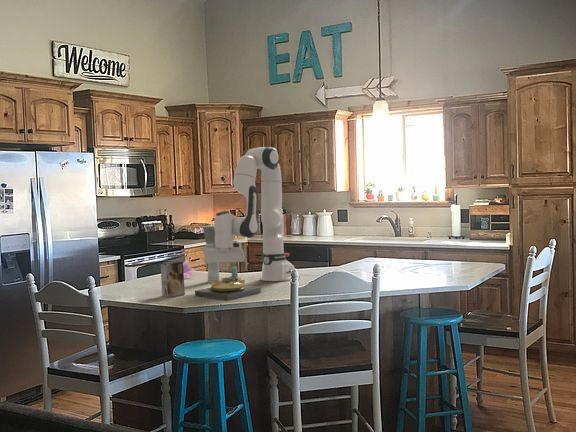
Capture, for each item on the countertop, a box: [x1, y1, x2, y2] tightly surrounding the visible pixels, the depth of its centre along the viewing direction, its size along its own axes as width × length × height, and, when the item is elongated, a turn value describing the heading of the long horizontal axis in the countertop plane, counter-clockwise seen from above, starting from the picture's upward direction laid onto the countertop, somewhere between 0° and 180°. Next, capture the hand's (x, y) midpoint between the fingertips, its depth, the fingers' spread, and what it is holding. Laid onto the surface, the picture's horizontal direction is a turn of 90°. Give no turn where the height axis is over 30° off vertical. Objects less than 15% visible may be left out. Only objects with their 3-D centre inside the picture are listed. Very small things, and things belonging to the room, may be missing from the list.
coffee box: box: [160, 260, 186, 298], centre depth 312 cm, size 9×6×16 cm
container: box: [202, 224, 221, 284], centre depth 350 cm, size 10×10×30 cm
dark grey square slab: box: [194, 285, 262, 301], centre depth 310 cm, size 22×22×3 cm
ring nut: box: [210, 266, 246, 291], centre depth 314 cm, size 24×16×8 cm
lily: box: [183, 259, 195, 280], centre depth 367 cm, size 12×12×10 cm
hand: (224, 271), depth 324 cm, fingers closed
